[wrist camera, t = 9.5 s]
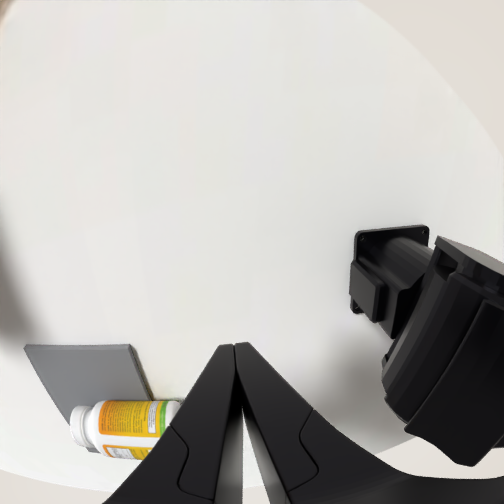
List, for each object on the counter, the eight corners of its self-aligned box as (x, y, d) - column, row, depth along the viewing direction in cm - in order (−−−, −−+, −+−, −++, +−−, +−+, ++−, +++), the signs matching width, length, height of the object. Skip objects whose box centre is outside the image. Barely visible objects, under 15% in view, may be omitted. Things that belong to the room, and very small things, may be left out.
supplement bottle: (182, 393, 24) (87, 392, 24) (170, 411, 19) (59, 405, 18) (191, 445, 23) (98, 441, 23) (182, 471, 18) (74, 462, 17)
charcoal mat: (129, 344, 22) (127, 348, 21) (176, 453, 27) (176, 457, 27) (26, 344, 21) (23, 348, 20) (90, 448, 26) (89, 451, 26)
